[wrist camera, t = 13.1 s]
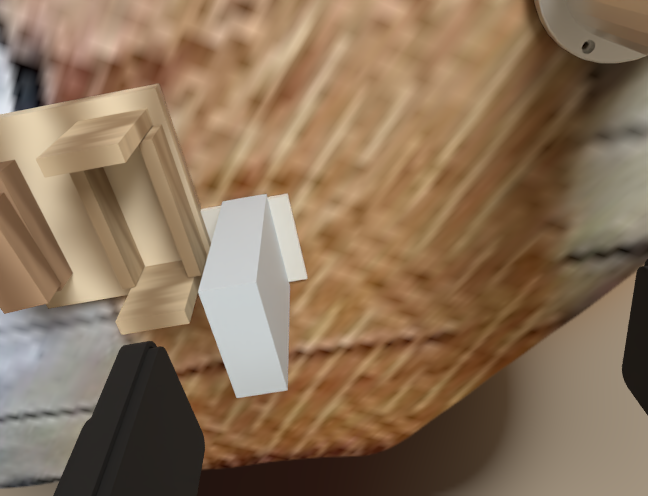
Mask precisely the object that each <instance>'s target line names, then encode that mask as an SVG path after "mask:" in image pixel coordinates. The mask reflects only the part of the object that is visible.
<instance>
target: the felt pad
mask: <svg viewBox="0 0 648 496" xmlns="http://www.w3.org/2000/svg"><path fill="white" fill-rule="evenodd" d="M267 198H268V202H269V206H270V210H271V214H272V217H273V221H274V225H275V229H276V233H277V237H278V241H279V245H280V249H281V253H282V257H283V261H284V265H285V269H286V273H287V277H288V281H289V282H291V281H297V280H303V279H307V273H306V269H305V264H304V260H303V256H302V252H301V247H300V243H299V239H298V235H297V231H296V226H295V222H294V218H293V214H292V209H291V205H290V201H289V197H288V194H282V195H277V196H271V197H267ZM220 209H221V206H216V207H210V208H205V209H201V214H202V217H203V220H204V223H205V226H206V229H207V232H208V235H209V238H210V241H211V242H212V239H213V235H214V231H215V228H216V224H217V220H218V217H219V213H220Z"/></svg>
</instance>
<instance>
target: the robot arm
mask: <svg viewBox="0 0 648 496" xmlns="http://www.w3.org/2000/svg"><path fill="white" fill-rule="evenodd" d="M534 3H535V6H536V10H537V13H538V16H539V19H540V21H541V23H542V25H543V26H544V28H545V30H546V31H547V33H548V35H549V36H550V37H551V38H552V39H553V40H554V41H555V42H556V43H557V44H558V45H559V46H560V47H562V48H563V49H565V50H566V51H568V52H570V53H571V54H573V55H575V56H577V57H579V58H582V59H584V60H588V61H593V62H597V63H622V62H627V61H633V60H637V59H639V58H642V57H645V56H648V0H534ZM585 42H586V44H585V46H584V47H583V48H582V46H583V44H584V43H585ZM622 374H623V378H624V381H625V383H626V385H627V387H628V388H629V390H630V391H631V393H632V394H633V395H634V397H635V398H636V400H637V401H638V402H639V404H640V405H641V407H642V408H643V409H644V411H645V412H646V414H647V415H648V259H647V261H646V262H645V265H644V266H642V267H639V269H638V270H637V274H636V280H635V287H634V293H633V299H632V306H631V312H630V320H629V325H628V332H627V338H626V345H625V351H624V358H623V364H622ZM204 451H205V442H204V436H203V433H202V430H201V428H200V426H199V424H198V421H197V419H196V417H195V415H194V412H193V410H192V408H191V406H190V403H189V401H188V399H187V397H186V394H185V392H184V390H183V388H182V385H181V383H180V381H179V379H178V376H177V374H176V372H175V370H174V367H173V365H172V363H171V360H170V358H169V356H168V354H167V351H166V350H165V348H164V347H157V346H156V344H155V343H154V342H153V341H147V342H141V343H135V344H129V345H124V346H122V347H121V349H120V350H119V353H118V355H117V357H116V360H115V362H114V365H113V367H112V369H111V372H110V374H109V376H108V379H107V381H106V384H105V386H104V388H103V391H102V393H101V395H100V398H99V400H98V403H97V405H96V407H95V410H94V412H93V415H92V417H91V418H90V419H89V420H88V421H87V422H86V423H85V425H84V426H83V428H82V430H81V432H80V435H79V437H78V439H77V442H76V444H75V446H74V449H73V451H72V453H71V456H70V458H69V460H68V463H67V465H66V467H65V470H64V472H63V474H62V477H61V479H60V481H59V484H58V486H57V488H56V491H55V493H54V496H197V491H198V486H199V480H200V474H201V469H202V463H203V458H204Z"/></svg>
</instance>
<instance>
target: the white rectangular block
mask: <svg viewBox="0 0 648 496" xmlns="http://www.w3.org/2000/svg"><path fill="white" fill-rule="evenodd" d="M198 293H199V296H200V299H201V302H202V304H203V307H204V310H205V313H206V315H207V318H208V321H209V324H210V326H211V329H212V332H213V335H214V337H215V340H216V343H217V345H218V348H219V351H220V354H221V356H222V359H223V362H224V365H225V367H226V370H227V373H228V376H229V378H230V381H231V384H232V387H233V389H234V392H235V395H236V397H237V398H241V397H247V396H254V395H260V394H266V393H273V392H279V391H286V390H288V350H289V307H290V285H289V281H288V277H287V273H286V269H285V265H284V261H283V257H282V253H281V249H280V245H279V241H278V237H277V233H276V229H275V225H274V221H273V217H272V214H271V210H270V206H269V202H268V198H267V194H263V195H257V196H251V197H246V198H240V199H234V200H228V201H223V202H222V206H221V209H220V213H219V217H218V220H217V224H216V228H215V231H214V235H213V239H212V242H211V246H210V250H209V253H208V257H207V261H206V264H205V268H204V272H203V275H202V279H201V283H200V286H199V290H198Z"/></svg>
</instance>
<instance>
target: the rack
mask: <svg viewBox="0 0 648 496" xmlns="http://www.w3.org/2000/svg"><path fill="white" fill-rule="evenodd" d="M10 160H15V161H16V163H17V165H18V167H19V169H20V170H21V172H22V174H23V176H24V178H25V180H26V182H27V184H28V186H29V188H30V190H31V192H32V194H33V196H34V198H35V200H36V202H37V204H38V206H39V208H40V209H41V211H42V213H43V215H44V217H45V219H46V221H47V223H48V225H49V227H50V229H51V231H52V233H53V235H54V237H55V239H56V241H57V243H58V245H59V247H60V248H61V250H62V252H63V254H64V256H65V258H66V260H67V262H68V264H69V266H70V268H71V270H72V272H73V274H72V275H71V277H70V278H69V280H68V281H67V283H66V284H65V286H64V287H63V289H62V291H57V292H55V294H54V295H53V297H52V298H51V300H50V301H49V303H47V304H46V306H47V307H48V309H49V308H55V307H60V306H66V305H72V304H78V303H83V302H89V301H95V300H101V299H107V298H112V297H118V296H124V295H128V296H127V298H126V300H125V302H124V305H123V307H122V309H121V311H120V313H119V316H118V318H117V320H116V324H117V326H118V328H119V330H120V332H121V334H122V335H124V334H130V333H136V332H142V331H148V330H154V329H160V328H166V327H172V326H177V325H183V324H189V323H190V320H191V317H192V313H193V309H194V306H195V302H196V298H197V294H198V290H199V286H200V283H201V279H202V275H203V272H204V268H205V264H206V261H207V257H208V253H209V250H210V246H211V241H210V238H209V235H208V232H207V229H206V226H205V223H204V220H203V217H202V214H201V207H200V204H199V201H198V198H197V195H196V192H195V189H194V186H193V183H192V180H191V177H190V174H189V171H188V168H187V165H186V162H185V159H184V156H183V153H182V150H181V147H180V144H179V141H178V138H177V135H176V132H175V129H174V126H173V123H172V120H171V117H170V114H169V111H168V108H167V105H166V102H165V99H164V96H163V93H162V91H161V88H160V85H159V84H154V85H149V86H144V87H139V88H134V89H128V90H123V91H118V92H113V93H108V94H103V95H98V96H93V97H88V98H82V99H77V100H72V101H67V102H62V103H57V104H52V105H47V106H41V107H36V108H31V109H26V110H21V111H16V112H11V113H6V114H0V162H5V161H10Z"/></svg>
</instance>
